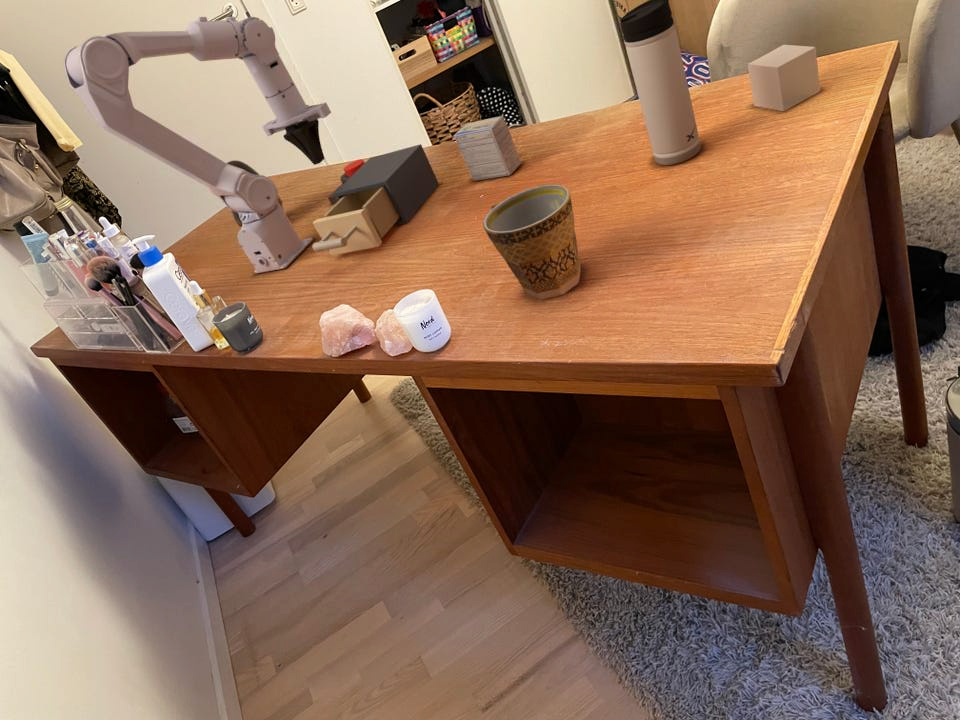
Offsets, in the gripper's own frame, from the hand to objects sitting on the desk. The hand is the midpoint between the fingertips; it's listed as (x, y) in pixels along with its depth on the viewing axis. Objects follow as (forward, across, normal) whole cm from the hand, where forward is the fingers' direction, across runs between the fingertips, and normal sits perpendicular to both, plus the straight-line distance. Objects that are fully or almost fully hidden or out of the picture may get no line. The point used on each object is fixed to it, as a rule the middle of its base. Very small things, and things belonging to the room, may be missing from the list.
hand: (319, 161), depth 126 cm
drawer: (+9, -15, +16) cm, 24 cm away
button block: (+10, +2, -11) cm, 15 cm away
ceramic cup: (+10, -54, +34) cm, 65 cm away
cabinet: (+10, -15, +4) cm, 19 cm away
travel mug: (+11, -65, +6) cm, 66 cm away
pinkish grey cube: (+11, -78, -5) cm, 79 cm away
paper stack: (+11, -33, -2) cm, 35 cm away
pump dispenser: (+10, +21, 0) cm, 24 cm away
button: (+7, +2, -11) cm, 13 cm away
